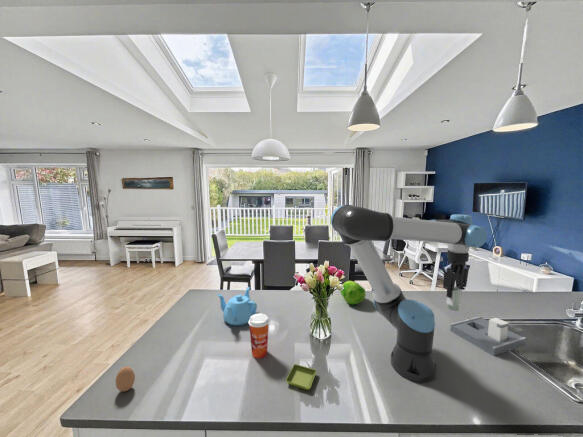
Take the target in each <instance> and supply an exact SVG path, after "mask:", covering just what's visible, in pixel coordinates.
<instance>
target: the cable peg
mask: <svg viewBox="0 0 583 437" xmlns="http://www.w3.org/2000/svg"><path fill="white" fill-rule="evenodd" d="M453 291H455V295H454V305H453V306H451V305H449V304H447V308H448V310H451V311H454V312H458V311H460V310H459V309H460V304H459V300H460V289H459V288H458V287H456V285H454V289H453Z"/></svg>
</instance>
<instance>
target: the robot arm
mask: <svg viewBox="0 0 583 437" xmlns="http://www.w3.org/2000/svg"><path fill="white" fill-rule="evenodd" d="M330 224H331V227H332V228H333V230H334V231H336V232H337V233H338V235H339V236H340V237H339V238H341V241H342V242H343V244H344V245H346V246H349V248H350V249H351V251H352V253H353V254H354V257H355V258H356V260H357V262H358V265H359V266H360V268H361V270H362V272H363V274H364V275H365V277H366V279H367V281H368V283H369V285H370V287H371V289H372V290H373V292H372V299H373V306H374V307H375V309H376V310H377V312H378V314H379V315H380V316H383V318H385V320H387V321H388V323H389V324H391V325H392V326H393V328H394V329H396V342H395V345H394V347H393V349H392V352H391V354H390V364H391V368H393V370H394V371H395V372H396V373H398V374H399V375H400V376H401V377H403V378H405V379H407V380H409V381H413V382H416V383H431V382H433V381H434V380H436V378H437V371H438V370H437V365H436V362H435V358H434V353H433V348H434V347H433V345H434V344H433V343H434V335H435V326H436V322H435V314H434V311H433V309H431V308H430V307H429V306H428V305H427V304H425V303H423V302H419V300H418V301H417V300H414V299H407V298H406V297H405V294H404V293H403V291H402V289H401V287H400V286H399V285H398V284H397V283H394V282H393V279H392V278H391V276H390V273H389V272H388V270H387V268H386V265H385V263H384V262H383V260H382V258H381V256H380V254H379V251H378V250H377V248H376V246H375V244H374V242H376V241H377V242H389V240H401V241H414V242H426V243H427V242H428V243H439V244H447V249H448V250H447V251H446V252H447V253H446V258H447V259H448V263H447V266H443V267H442V270H443V284H442V289H445V290H446V302H445V303H446V304H447V305H448V304H449V305H451V306H453V305H454V295H455V291H453V289H454V286H456V287H458V288H459V289H460V300H459V305H461V300H462V292H463V291H465V290H466V288H467V284H468V275H469V270H470V268H471V265H470V264H467V263H468V262H469V256H470V253H469V252H470V248H476V249H477V248H480V247H482V246H483V245H484V244H486V241H487V238H488V234H487V231H486V229H485V228H484V227H482V226H479V225H476V224H473V218H472V215H469V214H459V213H458V214H454V213H453V214H451V215H450V218H449V219H435V218H434V219H429V220H427V219H417V218H411V217H410V218H409V217H398V216H392V214H390V213H389V212H388V213H387V212H381V211H377V210H373V209H368V208H366V207H363V206H355V205H352V204H343V205H340V206H338V207H336V208H335V209H334V210H333V211H332V214H331V217H330Z"/></svg>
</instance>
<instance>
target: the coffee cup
mask: <svg viewBox="0 0 583 437" xmlns="http://www.w3.org/2000/svg"><path fill="white" fill-rule="evenodd" d="M270 321H271V320H270V318H269V317H268V315H267V314H265V313H258V314H254V315H252V316H251V317H250V320H249V322H248V323H247V324H248V325H249V334H250V346H251V354H252V357H254V358H255V359H263V358H264V357H266V356H267V354H268V346H269V345H268V344H269V343H268V342H269V325H270Z"/></svg>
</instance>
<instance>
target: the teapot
mask: <svg viewBox="0 0 583 437" xmlns="http://www.w3.org/2000/svg"><path fill="white" fill-rule="evenodd" d="M250 289H251V288H250V286H248V287H247V288H246V289H245V292H244V295H242V294H237V295H235V296H232V297H231V298H230V299H229V300H228V302H227V303H226V300H225V298H224V295H222V294H220V293H216V295H217V296H218V297H219V300H220V309H221V311H222V312H223V320H224V321H225V322H226V323H227V324H229V325H231V326H236V327H237V326H244V325H247V324H249V323H248V322H249V320H250V317H251V316H252V315H254V314H259V313H258V312H257V309H258V304H257V302H255V301H253V300H251V299H250V298H251V296H250Z"/></svg>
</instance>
